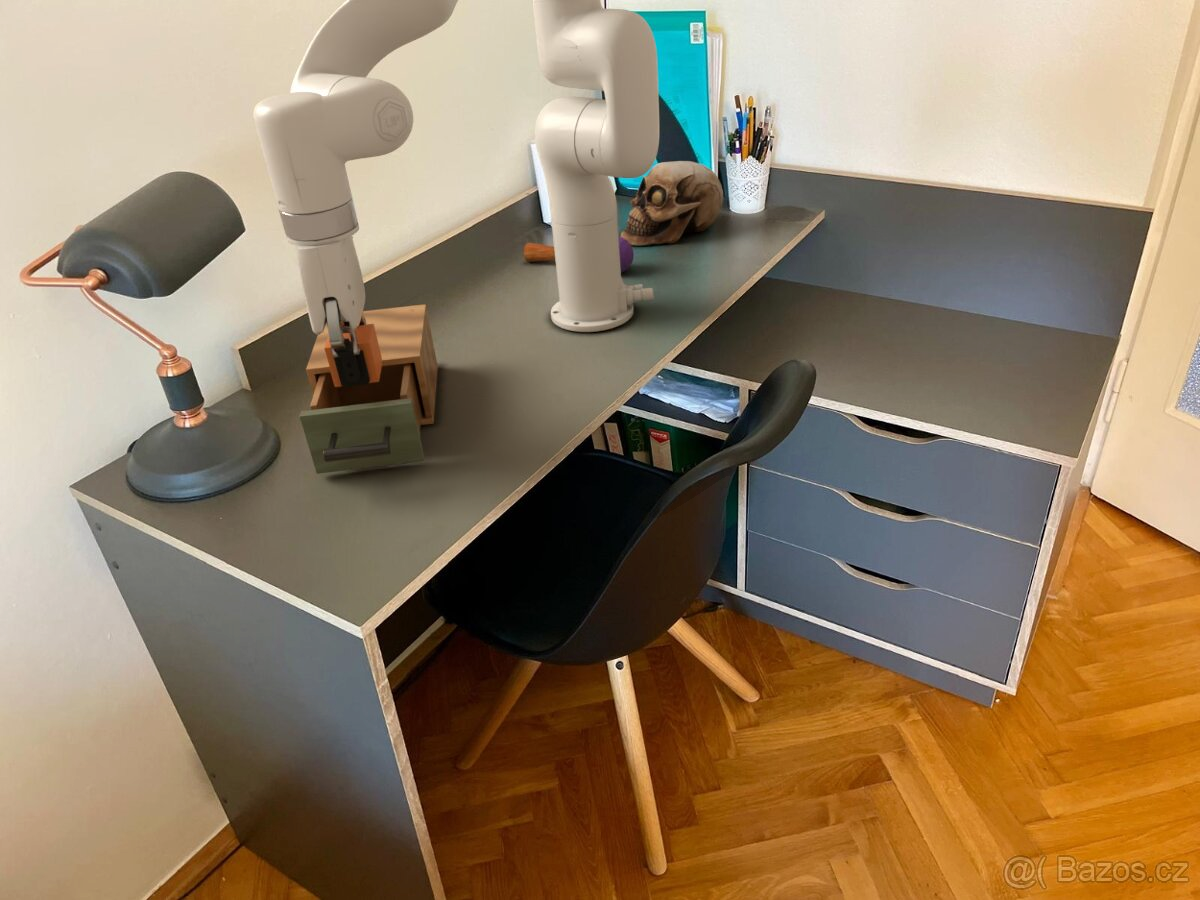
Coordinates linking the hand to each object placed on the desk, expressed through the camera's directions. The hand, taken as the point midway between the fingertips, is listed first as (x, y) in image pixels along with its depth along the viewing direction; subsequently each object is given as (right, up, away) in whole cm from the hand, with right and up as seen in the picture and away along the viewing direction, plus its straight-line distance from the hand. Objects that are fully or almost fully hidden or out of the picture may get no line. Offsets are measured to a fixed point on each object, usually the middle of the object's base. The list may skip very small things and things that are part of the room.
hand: (358, 371), depth 104 cm
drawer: (+1, -9, +4) cm, 10 cm away
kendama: (+25, +22, +50) cm, 60 cm away
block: (0, 0, 0) cm, 0 cm away
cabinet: (-1, -2, +16) cm, 16 cm away
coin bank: (+41, +31, +61) cm, 80 cm away
